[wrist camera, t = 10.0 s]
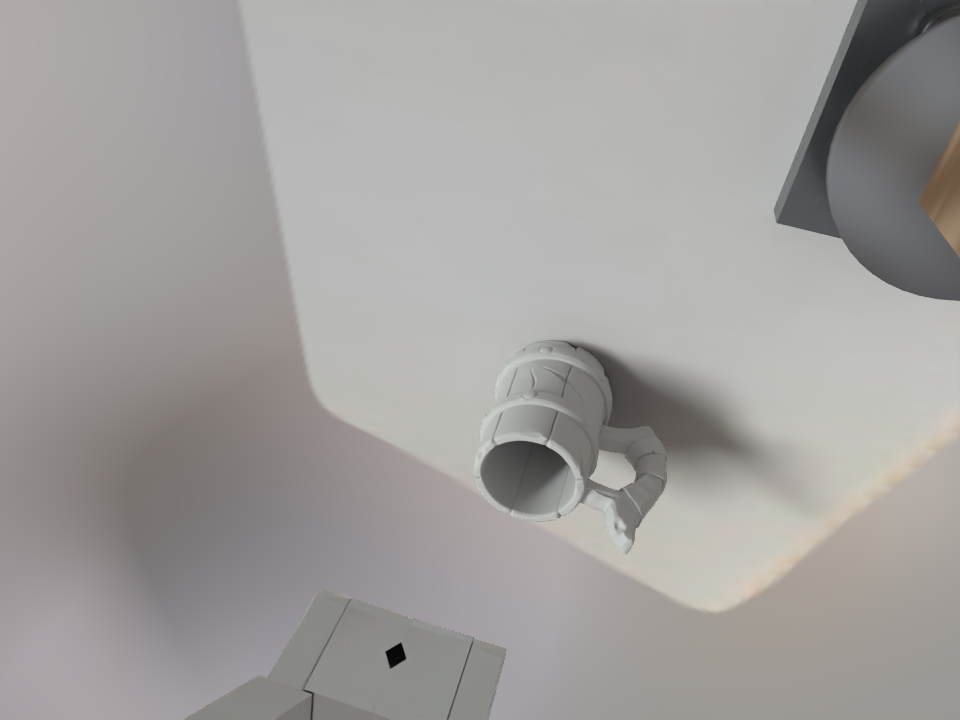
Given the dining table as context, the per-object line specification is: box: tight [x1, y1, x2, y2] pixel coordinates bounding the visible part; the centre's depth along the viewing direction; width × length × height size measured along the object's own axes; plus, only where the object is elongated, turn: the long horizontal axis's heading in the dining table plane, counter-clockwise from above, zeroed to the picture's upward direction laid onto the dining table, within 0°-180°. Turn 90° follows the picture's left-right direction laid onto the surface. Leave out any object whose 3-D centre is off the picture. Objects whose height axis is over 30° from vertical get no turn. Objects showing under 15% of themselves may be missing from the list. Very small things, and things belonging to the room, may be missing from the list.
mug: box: [474, 341, 667, 554], centre depth 44 cm, size 8×12×12 cm, turn 75°
